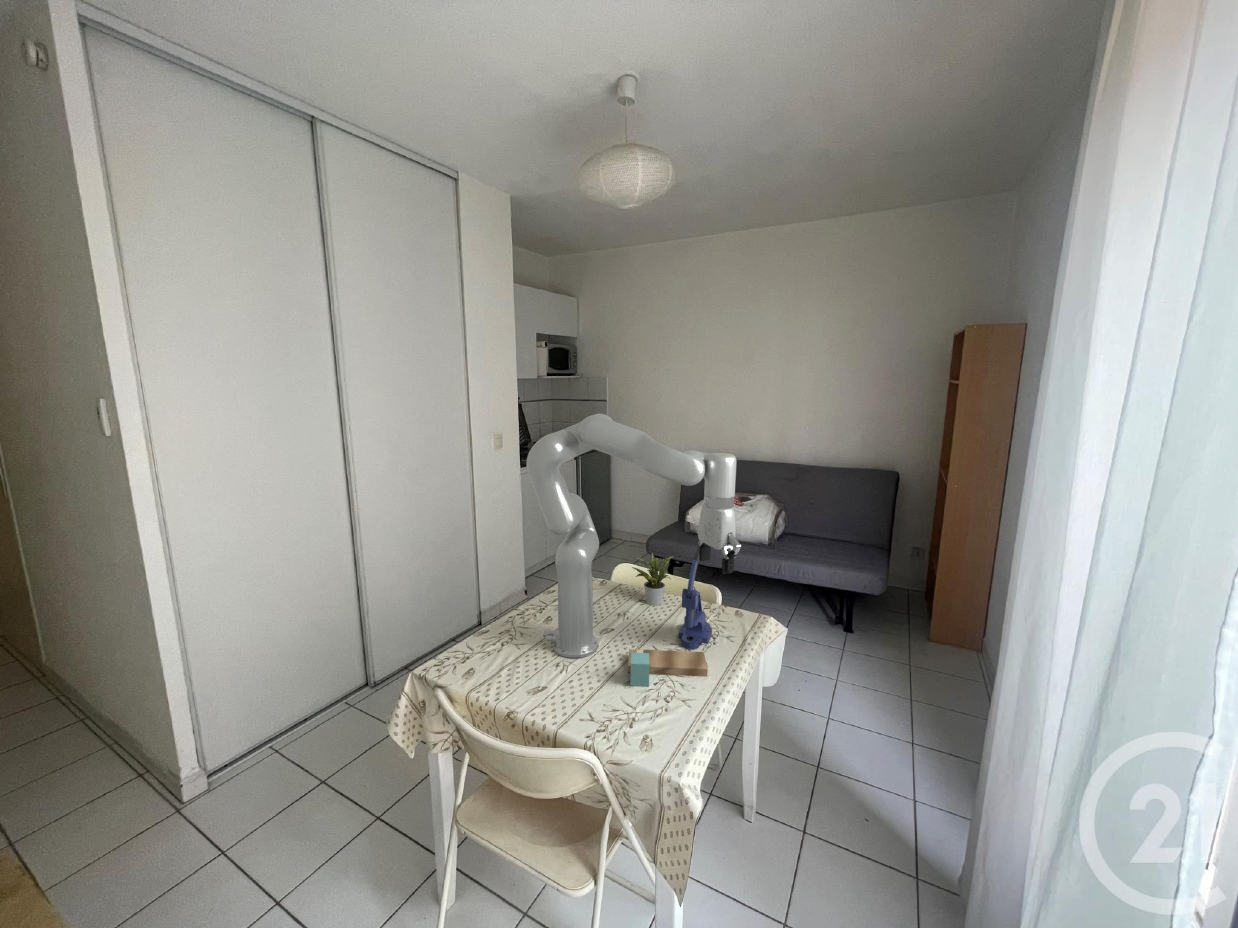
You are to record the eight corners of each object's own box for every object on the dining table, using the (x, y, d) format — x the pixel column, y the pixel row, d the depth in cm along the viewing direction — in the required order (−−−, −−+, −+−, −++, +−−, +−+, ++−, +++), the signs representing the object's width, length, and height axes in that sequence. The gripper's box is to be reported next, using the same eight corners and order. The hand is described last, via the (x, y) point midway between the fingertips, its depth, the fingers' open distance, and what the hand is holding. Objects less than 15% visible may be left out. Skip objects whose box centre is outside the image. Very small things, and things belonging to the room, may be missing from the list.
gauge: (630, 686, 121) (630, 663, 120) (631, 662, 131) (631, 641, 130) (648, 686, 120) (649, 664, 119) (648, 662, 131) (648, 641, 130)
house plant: (656, 588, 178) (657, 544, 175) (685, 601, 167) (686, 555, 164) (626, 599, 169) (626, 553, 166) (654, 614, 158) (655, 565, 156)
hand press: (702, 655, 134) (706, 556, 130) (671, 648, 138) (674, 552, 133) (716, 624, 152) (720, 536, 147) (689, 619, 155) (692, 532, 150)
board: (627, 673, 126) (628, 665, 126) (628, 656, 134) (629, 649, 133) (707, 676, 125) (707, 668, 125) (703, 658, 133) (703, 651, 133)
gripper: (687, 495, 131) (685, 557, 134) (728, 511, 116) (724, 581, 119) (710, 493, 135) (707, 553, 137) (753, 508, 119) (749, 576, 122)
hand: (715, 566), depth 128 cm, fingers open, 9 cm apart
